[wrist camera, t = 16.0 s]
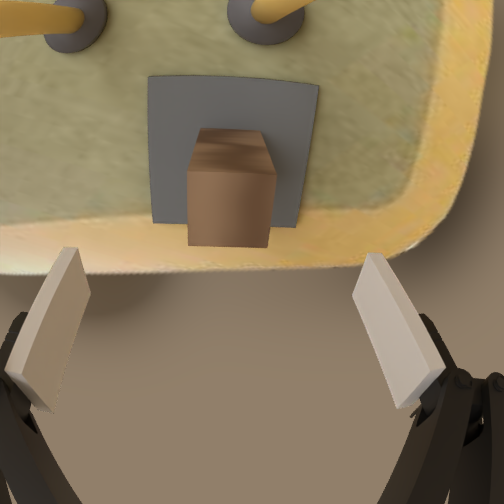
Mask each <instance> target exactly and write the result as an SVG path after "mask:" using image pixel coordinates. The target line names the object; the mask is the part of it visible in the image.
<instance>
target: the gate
mask: <svg viewBox="0 0 504 504" xmlns="http://www.w3.org/2000/svg"><path fill="white" fill-rule="evenodd" d="M313 1H315V0H229V2H228V7H227V15H228V20H229V23H230V25H231V27H232V28H233V30H234V31H235V32H236V33H237V34H238V35H239V36H240V37H242V38H243V39H245V40H247V41H249V42H252V43H255V44H261V45H271V44H277V43H280V42H283V41H285V40H287V39H289V38H291V37H292V36H293V35H294V34H295V33H296V32H297V31H298V30H299V28H300V27H301V25H302V22H303V19H304V6H305V5H307V4H309V3H311V2H313ZM106 20H107V7H106V4H105V2H104V0H57V1H55V3H54V4H53V5H52V4H44V3H34V2H22V1H2V0H0V38H3V37H13V36H24V35H38V34H44V37H45V40H46V42H47V44H48V45H49V46H50V47H51V48H52V49H53V50H55V51H57V52H61V53H72V52H77V51H81V50H83V49H85V48H87V47H88V46H90V45H91V44H92V43H93V42H94V41H95V40H96V39H97V38H98V37H99V36H100V34H101V33H102V31H103V29H104V27H105V24H106Z"/></svg>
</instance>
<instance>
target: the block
mask: <svg viewBox="0 0 504 504" xmlns="http://www.w3.org/2000/svg"><path fill="white" fill-rule="evenodd" d="M276 180H277V173H276V171H275V168H274V165H273V163H272V160H271V158H270V155H269V152H268V150H267V147H266V144H265V142H264V139H263V137H262V134H261V132H260V131H258V130H241V129H219V128H200V131H199V134H198V137H197V140H196V143H195V147H194V150H193V153H192V156H191V160H190V163H189V166H188V170H187V218H188V246H213V247H249V248H267V247H268V239H269V232H270V225H271V217H272V210H273V202H274V195H275V187H276Z"/></svg>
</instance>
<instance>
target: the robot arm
mask: <svg viewBox="0 0 504 504" xmlns="http://www.w3.org/2000/svg"><path fill="white" fill-rule="evenodd" d="M90 294H91V292H90V289H89V285H88V282H87V279H86V275H85V272H84V269H83V265H82V261H81V258H80V254H79V250H78V248H75V247H63V249H62V251H61V252H60V254H59V256H58V258H57V259H56V261H55V263H54V265H53V266H52V268H51V270H50V272H49V274H48V276H47V277H46V280H45V281H44V283H43V285H42V287H41V289H40V291H39V293H38V295H37V297H36V299H35V301H34V303H33V305H32V307H31V309H30V311H29V313H27V312H21V313H20V314H19V315H18V316H17V317H16V318H15V319H14V320H13V322H12V325H11V327H10V329H9V333H7V335H6V338H5V341H4V342H3V344H2V346H1V349H0V504H12V502H11V499H10V495H9V492H8V488H7V484H6V481H7V483H8V485H9V488H10V490H11V492H12V494H13V496H14V498H15V500H16V502H17V504H82V503H81V501H80V500H79V498H78V497H77V495H76V494H75V492H74V491H73V489H72V487H71V486H70V484H69V483H68V481H67V479H66V478H65V476H64V475H63V473H62V471H61V469H60V468H59V466H58V464H57V462H56V460H55V459H54V457H53V455H52V453H51V451H50V449H49V447H48V446H47V444H46V442H45V440H44V438H43V436H42V433H41V431H40V429H39V427H38V425H37V423H36V421H35V419H34V416H33V414H32V413H31V411H30V406H31V403H32V404H33V405H34V406H35V407H36V408H37V410H40V411H45V412H49V413H54V411H55V407H56V403H57V399H58V395H59V391H60V387H61V384H62V380H63V376H64V373H65V369H66V366H67V362H68V359H69V356H70V352H71V349H72V346H73V343H74V340H75V337H76V334H77V331H78V327H79V325H80V322H81V319H82V316H83V313H84V311H85V308H86V305H87V302H88V300H89V297H90ZM352 297H353V300H354V302H355V304H356V307H357V309H358V311H359V313H360V316H361V318H362V320H363V323H364V325H365V328H366V330H367V333H368V335H369V337H370V340H371V342H372V345H373V347H374V350H375V352H376V355H377V357H378V360H379V362H380V365H381V367H382V370H383V373H384V375H385V378H386V381H387V383H388V385H389V389H390V391H391V394H392V396H393V400H394V402H395V405H396V408H397V409H399V408H403V407H407V406H411V405H413V404H414V403H415V402H416V401H417V400H418V398H420V401H421V405H420V406H419V407H418V408H417V409H416V410H415V411H414V412H413V413H412V414H411V416H410V418H412V417H413V416H414V415H415V414H416V416H415V419H414V421H413V424H412V427H411V430H410V432H409V435H408V437H407V440H406V443H405V445H404V447H403V450H402V452H401V454H400V457H399V459H398V461H397V464H396V466H395V468H394V470H393V473H392V475H391V477H390V479H389V481H388V483H387V485H386V487H385V489H384V491H383V493H382V496H381V497H380V499H379V501H378V503H377V504H444V503H445V501H446V498H447V495H448V492H449V490H450V493H449V501H448V504H504V376H503V375H502V374H500V373H498V372H494V373H491V374H490V375H489V376H488V377H487V378H486V379H477V378H473V377H471V375H470V374H469V373H468V372H467V371H466V370H464V369H460V368H457V366H456V365H455V363H454V361H453V359H452V357H451V355H450V353H449V351H448V349H447V347H446V345H445V343H444V342H443V341H442V338H441V336H440V334H439V333H438V331H437V329H436V327H435V326H434V324H433V322H432V321H431V320H430V319H429V318H428V317H427V316H426V315H425V314H418V313H417V311H416V309H415V308H414V306H413V304H412V302H411V301H410V299H409V297H408V295H407V294H406V292H405V290H404V289H403V287H402V285H401V284H400V282H399V280H398V279H397V277H396V276H395V274H394V272H393V271H392V269H391V267H390V266H389V264H388V262H387V261H386V259H385V258H384V256H383V254H382V253H367V256H366V259H365V262H364V265H363V267H362V271H361V273H360V276H359V278H358V281H357V284H356V286H355V289H354V292H353V294H352ZM482 418H483V419H484V421H483V422H484V424H482ZM5 479H6V480H5Z"/></svg>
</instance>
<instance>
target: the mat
mask: <svg viewBox="0 0 504 504" xmlns="http://www.w3.org/2000/svg"><path fill="white" fill-rule="evenodd" d="M318 89H319V86H318V85H312V84H305V83H298V82H290V81H281V80H271V79H261V78H248V77H231V76H200V75H179V76H149V77H148V149H149V172H150V189H151V204H152V217H153V223H164V224H188V218H187V170H188V166H189V163H190V160H191V156H192V153H193V150H194V147H195V143H196V140H197V137H198V134H199V131H200V128H219V129H241V130H258V131H260V132H261V134H262V137H263V139H264V142H265V144H266V147H267V150H268V152H269V155H270V158H271V160H272V163H273V165H274V168H275V171H276V173H277V180H276V187H275V195H274V202H273V210H272V217H271V225H270V227H288V228H296V223H297V217H298V212H299V206H300V201H301V195H302V190H303V184H304V178H305V172H306V166H307V160H308V154H309V148H310V142H311V136H312V129H313V123H314V116H315V110H316V103H317V96H318Z"/></svg>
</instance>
